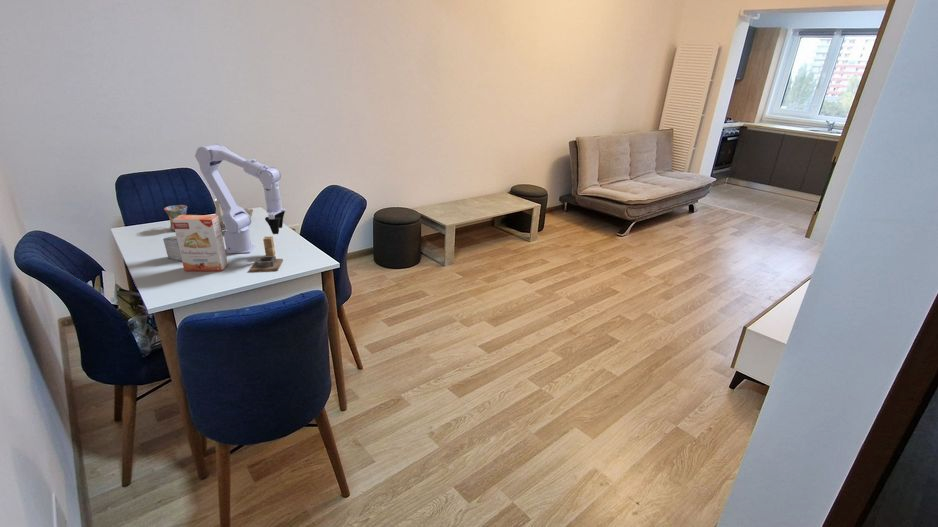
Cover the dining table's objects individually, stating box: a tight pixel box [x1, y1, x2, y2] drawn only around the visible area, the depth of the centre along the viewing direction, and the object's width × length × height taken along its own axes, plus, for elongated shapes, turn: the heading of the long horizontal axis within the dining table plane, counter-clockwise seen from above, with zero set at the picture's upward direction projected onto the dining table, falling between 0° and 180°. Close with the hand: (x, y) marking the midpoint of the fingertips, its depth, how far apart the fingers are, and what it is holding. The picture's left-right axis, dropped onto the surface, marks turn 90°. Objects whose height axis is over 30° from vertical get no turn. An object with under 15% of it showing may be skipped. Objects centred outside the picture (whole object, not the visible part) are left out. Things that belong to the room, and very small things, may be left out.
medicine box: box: [163, 235, 182, 261], centre depth 180 cm, size 8×4×9 cm, turn 71°
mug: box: [163, 204, 188, 232], centre depth 212 cm, size 12×9×11 cm
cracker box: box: [172, 214, 229, 272], centre depth 169 cm, size 14×6×21 cm, turn 94°
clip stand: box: [249, 255, 284, 273], centre depth 176 cm, size 10×10×3 cm
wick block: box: [262, 236, 276, 256], centre depth 185 cm, size 3×3×8 cm
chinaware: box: [213, 198, 254, 232], centre depth 217 cm, size 28×17×17 cm, turn 15°
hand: (277, 230), depth 185 cm, fingers open, 7 cm apart
